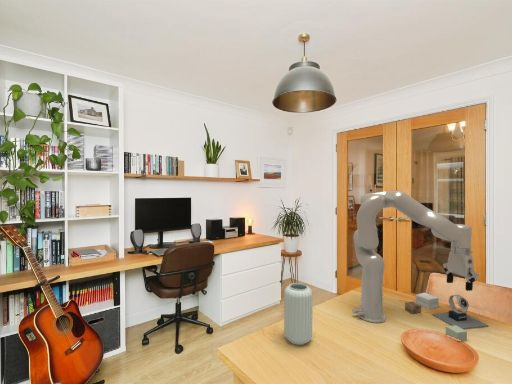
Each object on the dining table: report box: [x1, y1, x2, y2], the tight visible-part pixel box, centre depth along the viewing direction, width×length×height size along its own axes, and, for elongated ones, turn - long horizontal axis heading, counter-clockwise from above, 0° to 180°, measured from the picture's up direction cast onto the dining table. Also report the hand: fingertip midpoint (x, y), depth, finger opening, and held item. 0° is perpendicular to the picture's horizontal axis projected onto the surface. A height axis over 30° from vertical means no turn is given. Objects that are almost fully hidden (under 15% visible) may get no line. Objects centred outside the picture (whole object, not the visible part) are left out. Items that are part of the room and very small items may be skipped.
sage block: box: [445, 325, 468, 342], centre depth 113 cm, size 5×5×4 cm
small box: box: [415, 292, 440, 310], centre depth 144 cm, size 8×8×5 cm
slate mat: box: [432, 311, 489, 330], centre depth 128 cm, size 16×14×1 cm
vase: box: [283, 282, 313, 346], centre depth 111 cm, size 12×12×22 cm
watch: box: [448, 294, 470, 321], centre depth 128 cm, size 6×8×11 cm
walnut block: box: [404, 301, 422, 315], centre depth 137 cm, size 5×5×4 cm
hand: (459, 286), depth 127 cm, fingers open, 9 cm apart
